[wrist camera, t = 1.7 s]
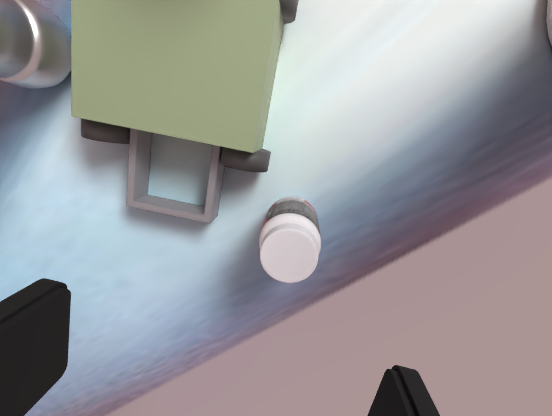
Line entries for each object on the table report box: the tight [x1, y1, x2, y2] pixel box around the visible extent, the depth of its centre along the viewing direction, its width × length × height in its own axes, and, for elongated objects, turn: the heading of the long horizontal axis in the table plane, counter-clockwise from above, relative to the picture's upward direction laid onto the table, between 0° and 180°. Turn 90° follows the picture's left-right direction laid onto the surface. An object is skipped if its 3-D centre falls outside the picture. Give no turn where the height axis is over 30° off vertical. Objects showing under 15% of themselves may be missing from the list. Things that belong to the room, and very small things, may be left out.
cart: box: [71, 0, 298, 223], centre depth 24 cm, size 16×19×5 cm
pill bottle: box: [259, 197, 321, 283], centre depth 24 cm, size 5×5×8 cm
